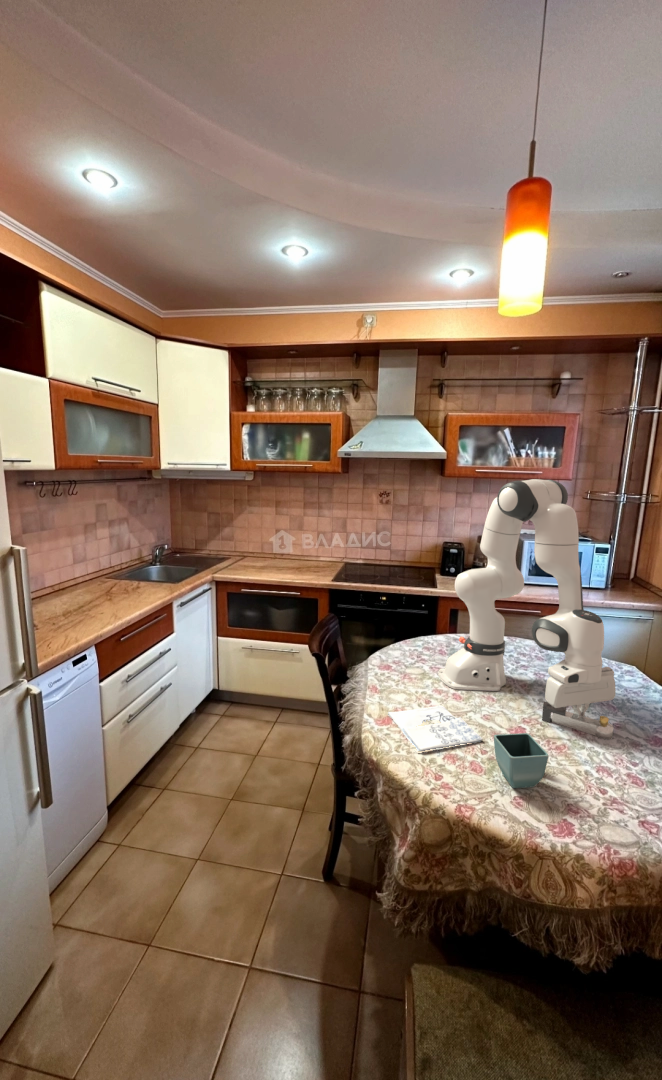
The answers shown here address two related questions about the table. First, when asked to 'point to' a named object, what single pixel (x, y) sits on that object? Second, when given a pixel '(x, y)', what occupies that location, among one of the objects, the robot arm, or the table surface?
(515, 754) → the flower pot
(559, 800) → the table surface
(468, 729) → the white illustrated notebook
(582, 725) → the link
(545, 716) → the pintle base
